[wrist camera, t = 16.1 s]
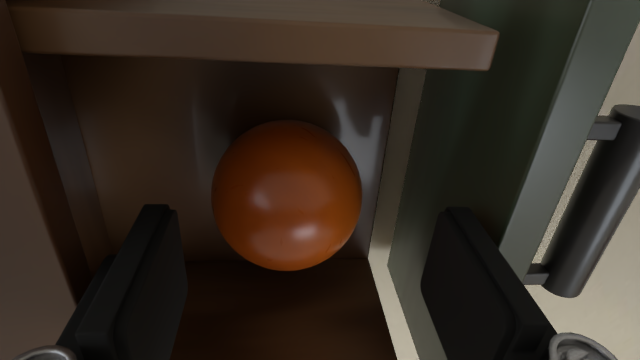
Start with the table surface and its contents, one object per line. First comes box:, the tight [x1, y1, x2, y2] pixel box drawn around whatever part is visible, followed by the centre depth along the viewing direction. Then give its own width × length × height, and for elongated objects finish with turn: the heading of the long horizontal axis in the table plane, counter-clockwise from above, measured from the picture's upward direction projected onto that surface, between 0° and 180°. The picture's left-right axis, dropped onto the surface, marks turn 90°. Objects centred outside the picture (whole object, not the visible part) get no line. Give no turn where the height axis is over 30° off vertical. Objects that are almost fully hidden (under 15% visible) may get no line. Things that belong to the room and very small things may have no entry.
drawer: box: [5, 0, 640, 360], centre depth 13 cm, size 19×14×7 cm
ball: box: [211, 120, 363, 271], centre depth 13 cm, size 5×5×5 cm
